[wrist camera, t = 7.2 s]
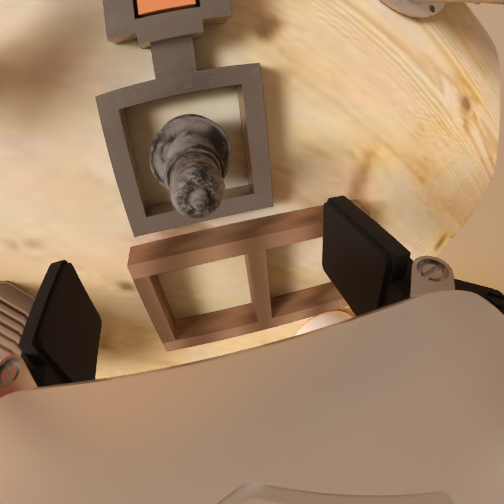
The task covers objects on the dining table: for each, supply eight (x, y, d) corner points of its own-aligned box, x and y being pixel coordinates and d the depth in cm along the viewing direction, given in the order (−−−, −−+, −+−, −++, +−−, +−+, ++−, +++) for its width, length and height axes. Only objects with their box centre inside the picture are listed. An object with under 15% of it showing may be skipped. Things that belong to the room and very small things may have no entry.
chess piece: (142, 166, 23) (120, 243, 13) (169, 100, 20) (163, 122, 11) (206, 188, 25) (231, 273, 16) (236, 126, 23) (286, 173, 13)
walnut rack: (354, 199, 30) (369, 212, 27) (346, 286, 37) (357, 302, 34) (130, 247, 27) (127, 266, 24) (165, 331, 34) (167, 351, 31)
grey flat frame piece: (238, -53, 14) (246, -66, 11) (266, 197, 27) (276, 211, 25) (86, -25, 12) (75, -35, 10) (136, 225, 26) (133, 243, 23)
